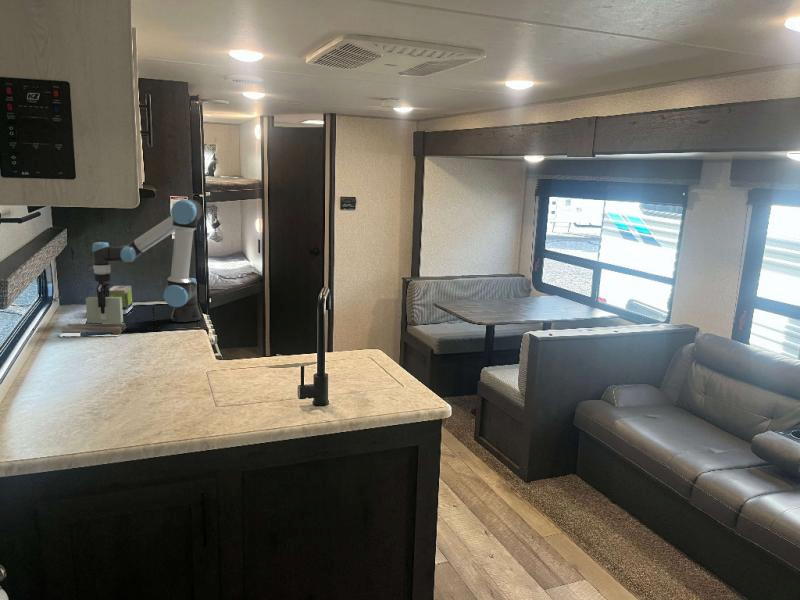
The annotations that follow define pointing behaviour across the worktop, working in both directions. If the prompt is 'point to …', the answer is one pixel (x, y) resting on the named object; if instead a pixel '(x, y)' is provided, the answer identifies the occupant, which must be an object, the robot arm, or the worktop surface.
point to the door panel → (112, 310)
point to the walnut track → (95, 328)
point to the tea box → (123, 296)
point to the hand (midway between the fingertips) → (105, 318)
